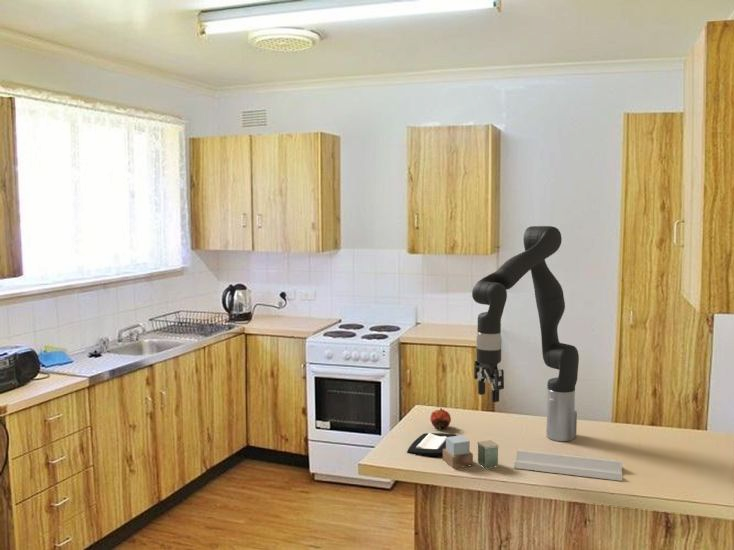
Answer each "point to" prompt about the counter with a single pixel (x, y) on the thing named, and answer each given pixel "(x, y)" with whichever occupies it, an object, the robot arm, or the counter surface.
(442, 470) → the counter surface
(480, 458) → the tea tin
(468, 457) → the base block
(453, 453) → the mid block
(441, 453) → the black flat rectangular tray
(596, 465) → the crown molding
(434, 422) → the pomegranate
